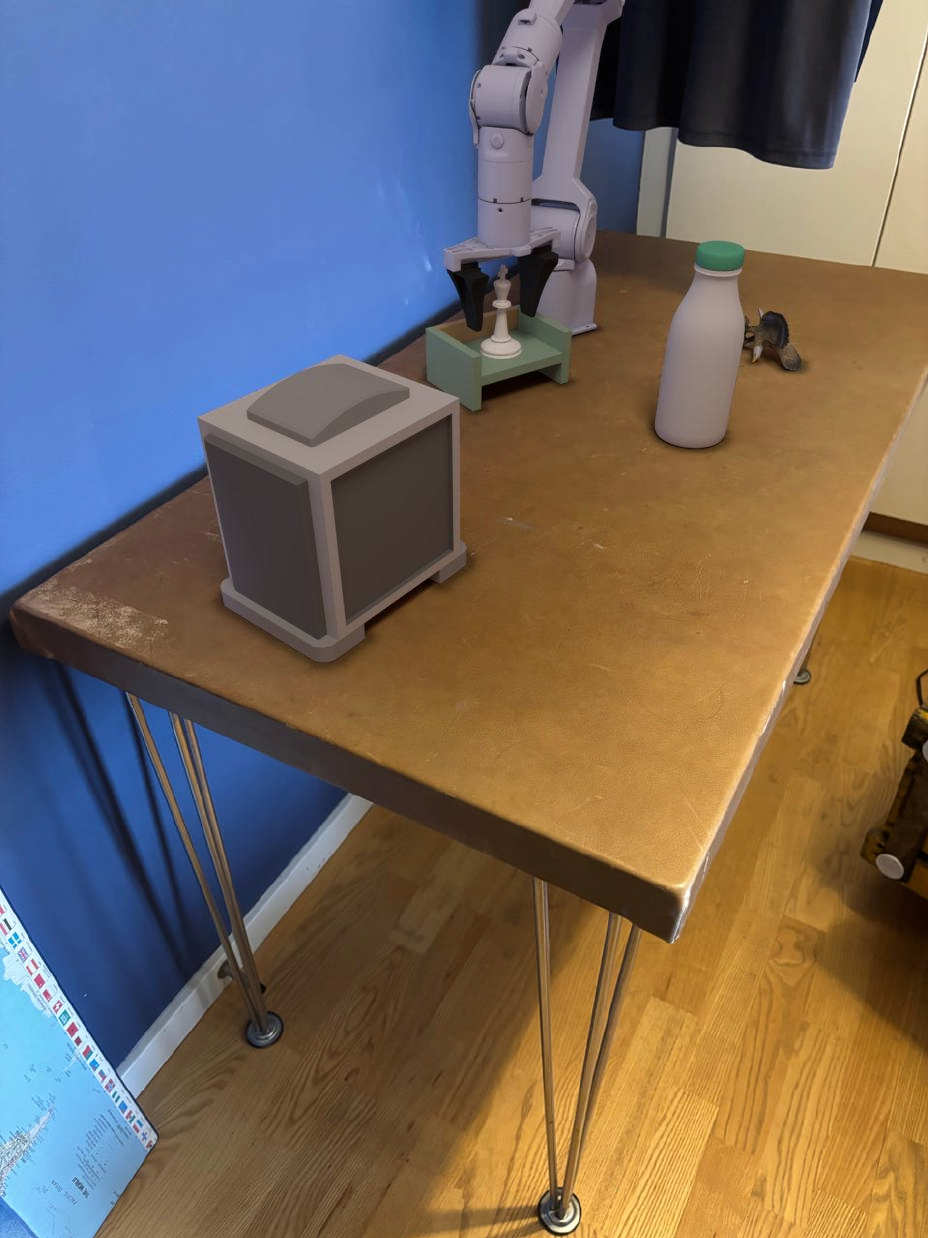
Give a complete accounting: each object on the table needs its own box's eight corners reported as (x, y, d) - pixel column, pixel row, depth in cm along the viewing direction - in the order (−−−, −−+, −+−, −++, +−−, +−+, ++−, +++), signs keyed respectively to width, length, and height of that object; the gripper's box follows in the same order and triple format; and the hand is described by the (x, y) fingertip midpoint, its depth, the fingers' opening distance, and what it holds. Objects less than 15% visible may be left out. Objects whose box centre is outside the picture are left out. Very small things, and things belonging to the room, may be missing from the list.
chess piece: (472, 354, 107) (473, 268, 101) (491, 339, 110) (492, 254, 104) (510, 362, 105) (513, 275, 99) (528, 347, 109) (532, 261, 102)
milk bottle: (725, 453, 97) (764, 262, 84) (652, 446, 98) (680, 256, 85) (724, 420, 103) (761, 236, 90) (655, 413, 104) (681, 231, 91)
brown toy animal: (715, 351, 115) (780, 359, 109) (734, 294, 114) (800, 299, 108) (742, 368, 120) (806, 377, 114) (760, 314, 119) (825, 321, 113)
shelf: (519, 353, 117) (521, 303, 113) (568, 382, 110) (572, 329, 106) (426, 380, 111) (425, 328, 107) (472, 411, 104) (473, 357, 100)
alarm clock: (367, 510, 88) (352, 326, 77) (472, 560, 82) (473, 368, 70) (216, 601, 78) (172, 402, 66) (324, 667, 71) (297, 460, 59)
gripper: (469, 216, 91) (468, 347, 100) (581, 194, 97) (572, 318, 106) (431, 200, 96) (434, 326, 104) (541, 179, 102) (535, 300, 111)
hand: (501, 321), depth 105 cm, fingers open, 7 cm apart
